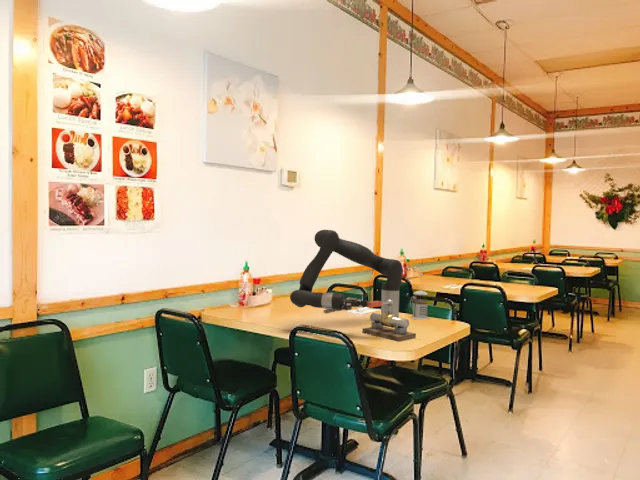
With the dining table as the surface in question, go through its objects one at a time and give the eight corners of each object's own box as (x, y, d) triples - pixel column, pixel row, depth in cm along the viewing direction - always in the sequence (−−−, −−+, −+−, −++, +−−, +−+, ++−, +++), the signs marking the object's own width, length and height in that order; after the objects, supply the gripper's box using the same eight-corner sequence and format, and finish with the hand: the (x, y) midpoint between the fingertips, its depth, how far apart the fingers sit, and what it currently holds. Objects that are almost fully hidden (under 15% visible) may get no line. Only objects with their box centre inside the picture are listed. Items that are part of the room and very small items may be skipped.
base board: (415, 337, 235) (415, 333, 235) (399, 341, 227) (399, 336, 227) (379, 329, 251) (379, 325, 251) (362, 332, 243) (362, 328, 243)
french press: (432, 319, 284) (434, 273, 283) (416, 320, 278) (418, 274, 277) (420, 316, 292) (421, 272, 291) (404, 317, 286) (406, 272, 285)
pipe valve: (410, 334, 233) (410, 307, 233) (401, 335, 229) (402, 308, 229) (376, 326, 248) (377, 301, 248) (368, 328, 244) (369, 302, 244)
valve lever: (394, 304, 238) (394, 300, 238) (371, 307, 228) (372, 302, 228) (389, 303, 241) (389, 299, 241) (366, 306, 230) (366, 301, 230)
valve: (334, 309, 320) (355, 308, 312) (312, 316, 298) (334, 316, 290) (333, 298, 320) (354, 297, 312) (310, 306, 298) (332, 305, 290)
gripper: (329, 294, 231) (366, 297, 225) (337, 291, 243) (373, 293, 238) (328, 311, 231) (366, 314, 226) (336, 307, 243) (372, 309, 238)
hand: (369, 303), depth 232 cm, fingers closed
